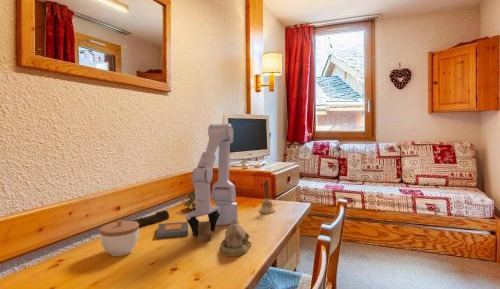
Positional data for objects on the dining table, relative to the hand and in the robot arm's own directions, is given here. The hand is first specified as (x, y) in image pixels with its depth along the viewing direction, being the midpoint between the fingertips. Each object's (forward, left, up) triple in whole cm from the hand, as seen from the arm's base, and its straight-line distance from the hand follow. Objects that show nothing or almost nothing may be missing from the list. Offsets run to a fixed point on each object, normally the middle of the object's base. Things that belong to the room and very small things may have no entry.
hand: (203, 233), depth 116 cm
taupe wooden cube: (0, 0, -2) cm, 2 cm away
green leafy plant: (+2, -44, -2) cm, 44 cm away
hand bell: (-33, -30, -2) cm, 45 cm away
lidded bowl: (+29, +5, -2) cm, 29 cm away
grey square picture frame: (+12, -11, -2) cm, 16 cm away
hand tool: (+23, -26, -2) cm, 35 cm away
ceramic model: (-10, +12, -2) cm, 16 cm away
